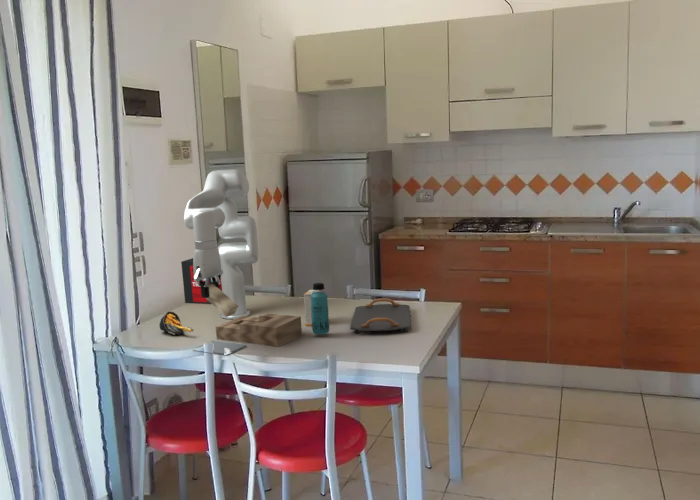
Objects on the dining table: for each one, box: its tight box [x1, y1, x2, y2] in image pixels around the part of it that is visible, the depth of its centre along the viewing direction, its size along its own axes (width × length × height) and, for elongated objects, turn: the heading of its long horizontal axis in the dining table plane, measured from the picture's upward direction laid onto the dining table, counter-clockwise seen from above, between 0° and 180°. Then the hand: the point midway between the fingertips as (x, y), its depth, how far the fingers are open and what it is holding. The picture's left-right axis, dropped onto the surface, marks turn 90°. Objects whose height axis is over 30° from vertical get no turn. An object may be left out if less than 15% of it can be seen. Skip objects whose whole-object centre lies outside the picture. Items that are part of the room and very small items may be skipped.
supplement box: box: [303, 289, 321, 327], centre depth 261 cm, size 8×5×13 cm, turn 168°
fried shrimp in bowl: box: [159, 311, 194, 336], centre depth 257 cm, size 9×11×18 cm
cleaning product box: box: [180, 257, 222, 305], centre depth 310 cm, size 16×9×20 cm, turn 69°
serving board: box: [349, 297, 412, 335], centre depth 259 cm, size 39×23×6 cm, turn 176°
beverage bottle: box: [311, 282, 330, 335], centre depth 243 cm, size 6×7×20 cm
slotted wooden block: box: [215, 312, 303, 348], centre depth 247 cm, size 28×16×7 cm, turn 61°
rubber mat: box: [195, 340, 248, 356], centre depth 235 cm, size 16×11×1 cm
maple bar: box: [206, 284, 238, 317], centre depth 231 cm, size 13×5×4 cm
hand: (210, 295), depth 233 cm, fingers closed on maple bar, 4 cm apart
